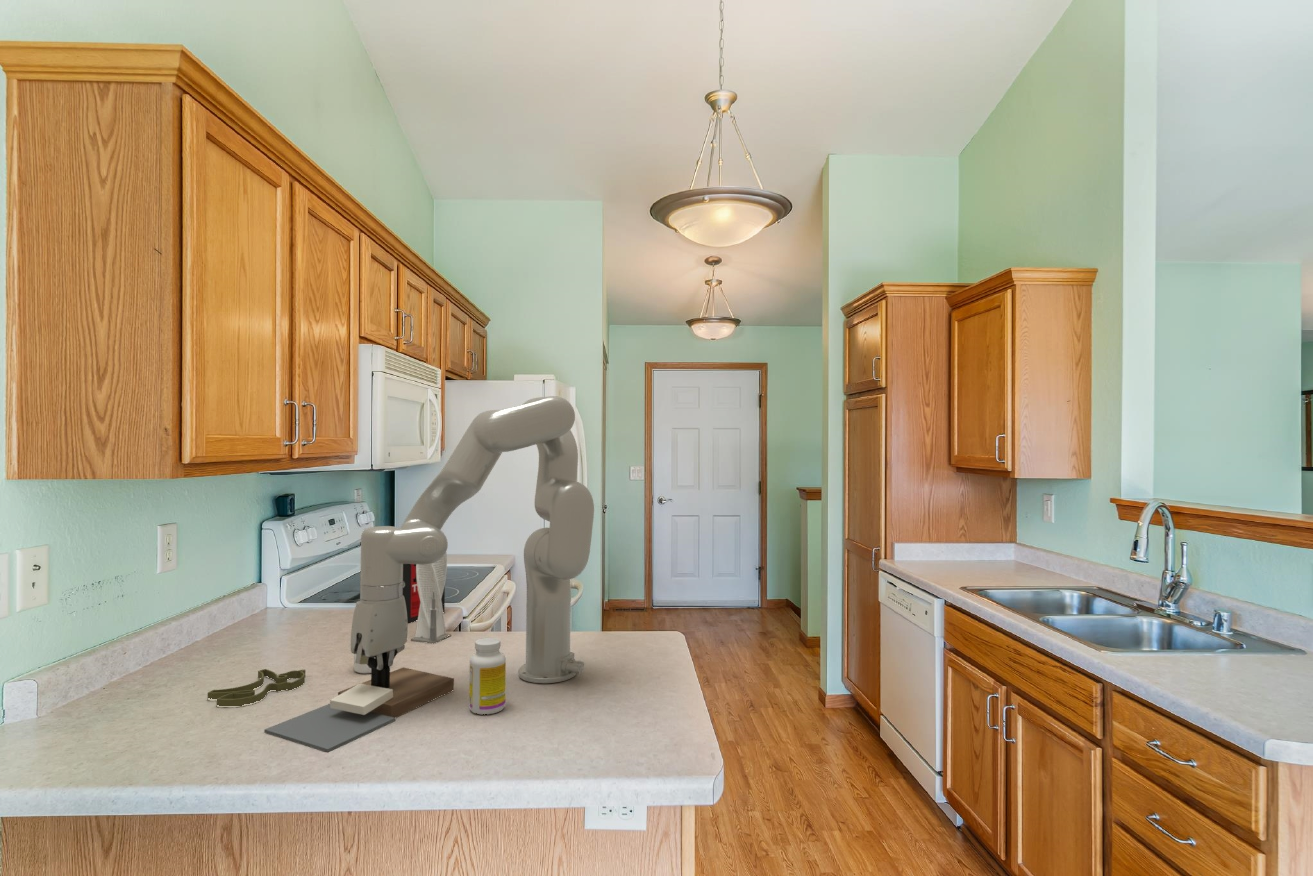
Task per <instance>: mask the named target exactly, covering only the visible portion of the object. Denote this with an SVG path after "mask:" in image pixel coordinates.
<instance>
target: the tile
mask: <svg viewBox="0 0 1313 876" xmlns="http://www.w3.org/2000/svg"><path fill="white" fill-rule="evenodd" d="M352 687H353V686H352ZM350 688H351V687H350ZM391 698H393V689H387V688H382V687H376V686H371V685H366V684H361V683H358V684H356V685H354V687H353V688H351V689H349V690H347V691H345V692H344V693H342V694H340V695H338V694H337V696H335V697H333V698H331V699H329V704H330V707H331V708H333V709H338V710H343V711H347V712H352V713H357V714H362V715H365V714H367V713H368V712H370V711H372V710H373V709H375V708H377V707H378V706H380V705H381V704H383V703H385V702H386V701H388V700H390V699H391Z"/></svg>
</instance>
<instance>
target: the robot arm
mask: <svg viewBox="0 0 1313 876" xmlns="http://www.w3.org/2000/svg"><path fill="white" fill-rule="evenodd" d="M575 419H576V413H575V409H574V407H573V405H572V404H571V402H570V401H569V400H567V399H566V398H564V397H562V396H554V395H552V396H551V395H550V396H538V397H533V398H530V399H528V400H526V401H525V402H523V403H522V404H521V405H520V404H519V405H517V406H513V407H508V408H502V409H493V410H485V411H482V412H480V413H478V414H477V415H476V416H475V417H474V418H473V420H472V421H471V423H470V424H469V426H468V427H467V429H466V430H465V432H464V433H463V435H462V437H461V439H460V440H459V442H458V444H457V445H456V446H455V448H454V450H453V452H452V453H451V455H450V456H449V458H448V460H447V461H446V463H445V464H444V466H443V467H442V469H441V471H440V472H438V474H437V475H436V476H435V478H434V479H433V480H432V481H431V483H430V484H429V485H428V487H427V488H425V490H424V491H423V492H422V493H421V495H420V496H419V497H418V499H417V500H416V502H415V503H414V504H413V506H412V507H411V510H410V511H409V513H408V514H407V516H406V518H405V519H404V521H403V523H402V524H401V526H400V527H397V526H394V525H393V526H391V525H381V526H378V525H377V526H371V527H368V528H365V529H364V530H363V531H362V533H361V536H360V584H359V585H360V589H359V592H360V593H359V599H360V600H358V601H356V603H355V607H354V611H353V615H352V616H353V617H352V620H351V621H352V622H351V633H350V652H351V654H353V655H354V654H356V659H355V663H357V664H367V665H368V667H369V668H371V674H370V676H371V677H370V680H371V686H376V687H382V688H389V687H390V672H391V667H392V666H393V664H394V659H395V658H396V657H397V654H399V653H400V652H402V651H404V650H405V649H406V646H405V644H406V643H407V642H408V631H409V629H408V625H409V623H408V622H407V610H406V603H405V598H404V596H403V588H404V587H405V582H404V581H403V564H421V565H425V564H432V563H435V562H437V561H438V560H440V559H441V558H442V557H443V556H444V555H445V553H446V554H447V552H448V546H449V545H448V539H447V536H446V534H445V533H444V532H443V530H442V529H443V526H444V525H445V523H447V520H448V519H449V517H450V516H451V514H453V512H454V511H455V510H456V509H458V507H459V506H460V505H462V504H463V503H464V502H466V501H468V500H469V499H471V498H472V497H474V496H475V495H476V494H477V493H479V491H480V490H482V488H483V486H484V484H485V482H486V480H487V479H488V477H489V476H490V474H491V472H492V470H493V468H494V467H495V465H496V463H497V462H498V460H499V458H500V457H501V455H502V454H503V453H509V452H514V451H517V450H521V449H525V448H529V447H531V446H532V447H533V446H536V447H537V452H538V469H537V470H538V471H537V476H536V477H537V479H536V484H535V485H536V487H535V493H534V509H535V512H536V514H537V515H538V516H539V517H540V518H541V519H543V520H544V521H547V522H549V527H541V528H539V529H536V530H535V531H533V532H532V533H531V534H529V536H528V537H527V539H526V541H525V544H524V548H523V563H524V564H523V565H524V572H525V579H526V582H525V583H526V606H525V607H526V608H525V609H526V613H525V614H526V618H525V623H526V625H525V626H526V627H525V663H524V664H522V665H520V667H519V668H518V677H519V678H520V679H521V680H523V681H525V682H529V683H535V684H553V683H554V684H555V683H560V682H565V681H568V680H570V679H572V678H574V677H575V676H576V675H577V674H579V675H581V674H582V673H583V672H584V666H585V662H584V661H582V660H576V659H575V652H571V610H572V609H571V606H572V605H571V604H572V602H571V601H572V590H571V588H572V587H571V580H572V579H575V578H577V577H578V576H579V575H581V574H582V573H583V572H584V570H585V569H586V566H587V565H588V562H589V561H588V560H589V558H590V557H589V556H590V552H591V542H592V535H593V525H594V518H595V517H594V515H595V504H594V499H593V495H592V493H591V491H590V489H588V488H587V486H585V484H582V483H581V482H579V481H578V465H579V464H578V463H579V450H578V446H577V442H576V439H575V436H574V435H573V432H572V430H571V429H572V428H573V426H574V423H575ZM374 657H375V658H374Z"/></svg>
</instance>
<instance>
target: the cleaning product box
mask: <svg viewBox="0 0 1313 876" xmlns="http://www.w3.org/2000/svg"><path fill="white" fill-rule="evenodd" d="M403 581H404V582H405V587H404V588H403V596H404V598H405V603H406V610H407V622H408V624H411V622H412V623H415V622H417V621H416V620H418V615H419V608H420V598H419V593H418V587H417V578H416V564H403ZM445 588H446V587H445V586H444V590H443V594H442V598H441V601H442V607H443V612H444V613H445V607H446V606H445V605H446V603H445V600H446V599H445V597H446V596H445V595H446V592H445V590H446V589H445ZM414 621H415V622H414Z"/></svg>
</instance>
